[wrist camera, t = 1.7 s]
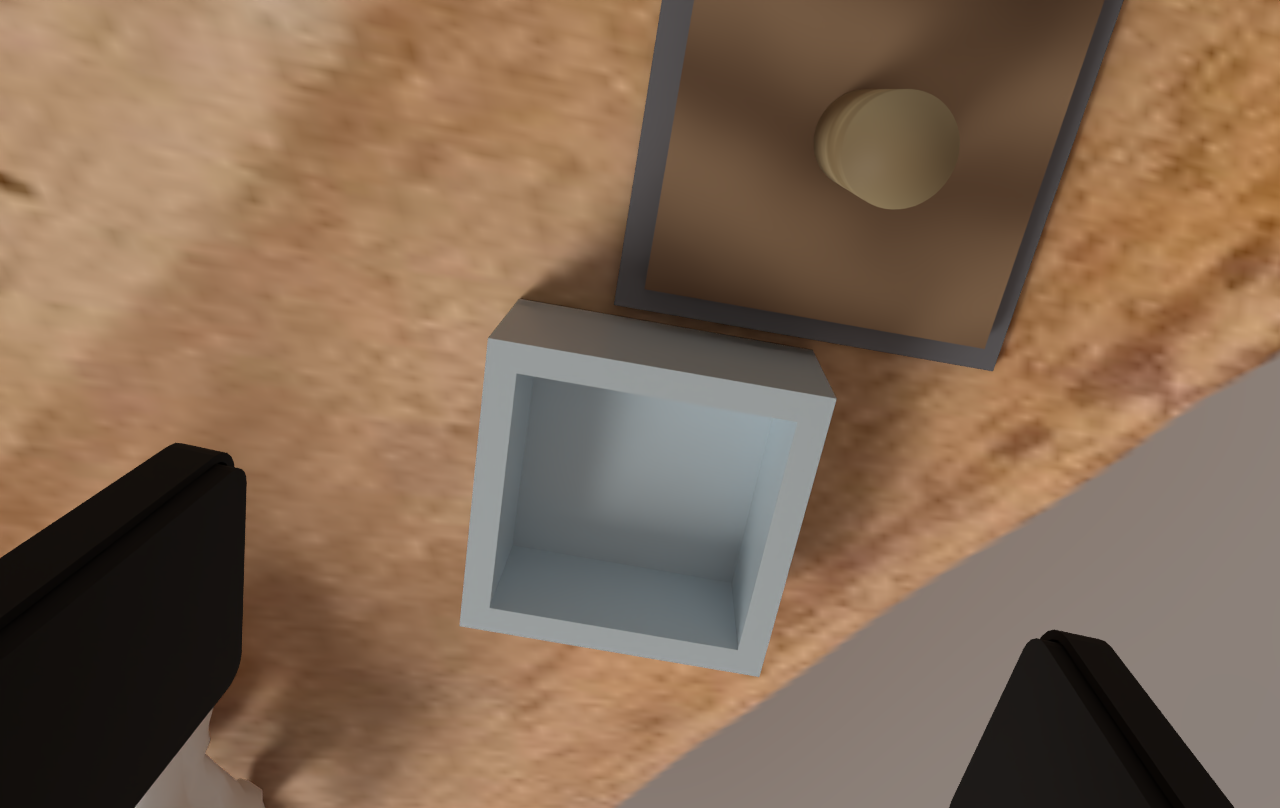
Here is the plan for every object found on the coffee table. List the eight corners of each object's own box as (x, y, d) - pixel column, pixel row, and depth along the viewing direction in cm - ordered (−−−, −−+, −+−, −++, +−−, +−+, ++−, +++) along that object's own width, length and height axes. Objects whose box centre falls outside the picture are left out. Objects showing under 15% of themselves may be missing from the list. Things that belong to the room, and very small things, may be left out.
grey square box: (519, 298, 29) (488, 337, 25) (812, 349, 30) (836, 398, 25) (490, 551, 33) (459, 626, 29) (748, 595, 34) (759, 676, 29)
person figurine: (-314, 830, 27) (97, 1178, 27) (-87, 556, 25) (337, 926, 26) (9, 666, 39) (282, 904, 40) (169, 480, 38) (448, 728, 39)
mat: (685, -145, 24) (685, -149, 24) (1138, -62, 24) (1146, -64, 24) (614, 302, 29) (613, 304, 29) (988, 367, 29) (992, 371, 29)
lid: (711, -104, 24) (720, -162, 18) (1100, -33, 24) (1225, -69, 19) (645, 282, 28) (636, 329, 23) (974, 340, 29) (1045, 401, 23)
